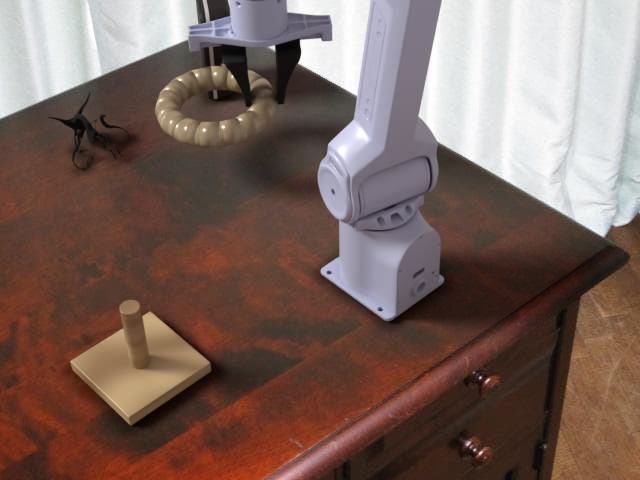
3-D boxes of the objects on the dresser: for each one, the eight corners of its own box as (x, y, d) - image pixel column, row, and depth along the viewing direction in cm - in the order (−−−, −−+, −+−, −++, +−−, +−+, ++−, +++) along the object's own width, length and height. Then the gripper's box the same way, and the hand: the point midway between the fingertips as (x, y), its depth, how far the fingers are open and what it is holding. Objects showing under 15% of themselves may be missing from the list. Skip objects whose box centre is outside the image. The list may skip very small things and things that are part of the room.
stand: (211, 371, 104) (203, 307, 98) (130, 426, 99) (117, 362, 94) (151, 319, 108) (140, 256, 103) (71, 369, 104) (56, 306, 98)
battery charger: (241, 99, 135) (234, 14, 127) (208, 102, 134) (199, 17, 127) (234, 66, 140) (227, -18, 132) (202, 70, 139) (194, -14, 132)
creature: (144, 151, 130) (94, 113, 132) (145, 117, 126) (95, 79, 128) (92, 186, 125) (42, 146, 128) (92, 152, 121) (40, 111, 124)
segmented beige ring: (302, 114, 122) (301, 94, 120) (207, 168, 116) (205, 148, 114) (226, 67, 129) (224, 47, 128) (133, 115, 123) (130, 95, 121)
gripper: (325, -39, 116) (328, 73, 125) (182, -29, 115) (195, 84, 124) (333, -4, 111) (335, 111, 120) (183, 7, 110) (197, 122, 119)
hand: (264, 100), depth 122 cm, fingers closed on segmented beige ring, 3 cm apart
